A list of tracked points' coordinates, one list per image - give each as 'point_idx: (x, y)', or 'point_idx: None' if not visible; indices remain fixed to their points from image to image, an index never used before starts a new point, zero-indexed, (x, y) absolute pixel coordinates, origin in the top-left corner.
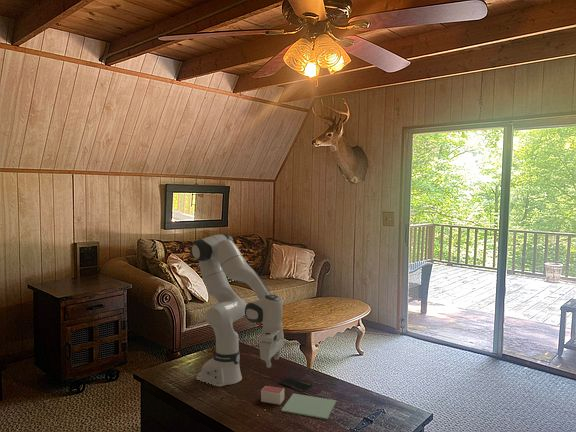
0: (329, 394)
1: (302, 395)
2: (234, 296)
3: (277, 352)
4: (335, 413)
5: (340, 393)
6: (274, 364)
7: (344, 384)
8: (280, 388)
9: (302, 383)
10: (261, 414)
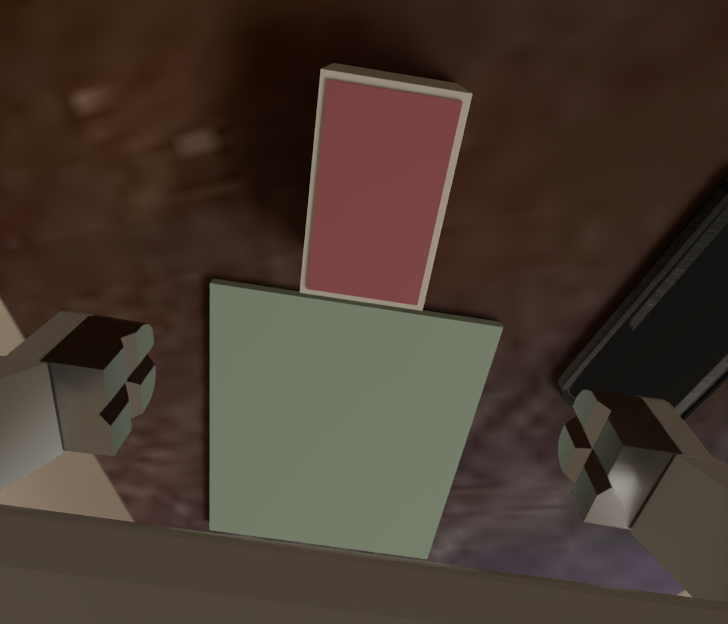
0: (521, 521)
1: (473, 392)
2: None
3: (723, 564)
4: None
5: (538, 566)
6: None
7: (667, 582)
8: (410, 277)
9: (697, 370)
10: (106, 132)
